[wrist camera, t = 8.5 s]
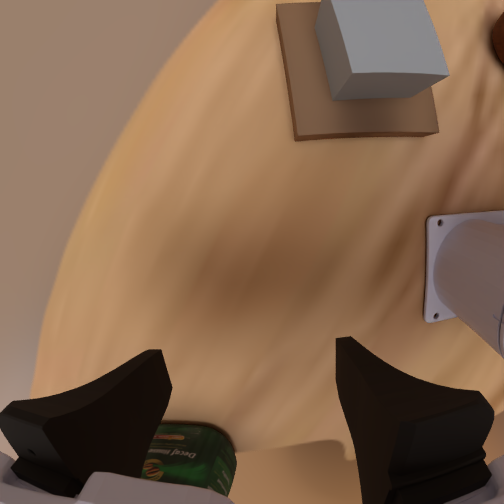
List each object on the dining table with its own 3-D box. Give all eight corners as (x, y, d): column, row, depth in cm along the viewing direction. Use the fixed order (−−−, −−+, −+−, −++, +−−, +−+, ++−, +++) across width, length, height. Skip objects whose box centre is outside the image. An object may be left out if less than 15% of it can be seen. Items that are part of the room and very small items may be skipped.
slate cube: (390, 27, 14) (418, -10, 9) (410, 97, 15) (449, 75, 10) (314, 27, 15) (325, -16, 10) (332, 100, 16) (352, 73, 11)
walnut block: (395, 26, 16) (409, 9, 14) (419, 137, 18) (439, 132, 15) (276, 24, 17) (276, 4, 14) (294, 142, 19) (297, 135, 16)
